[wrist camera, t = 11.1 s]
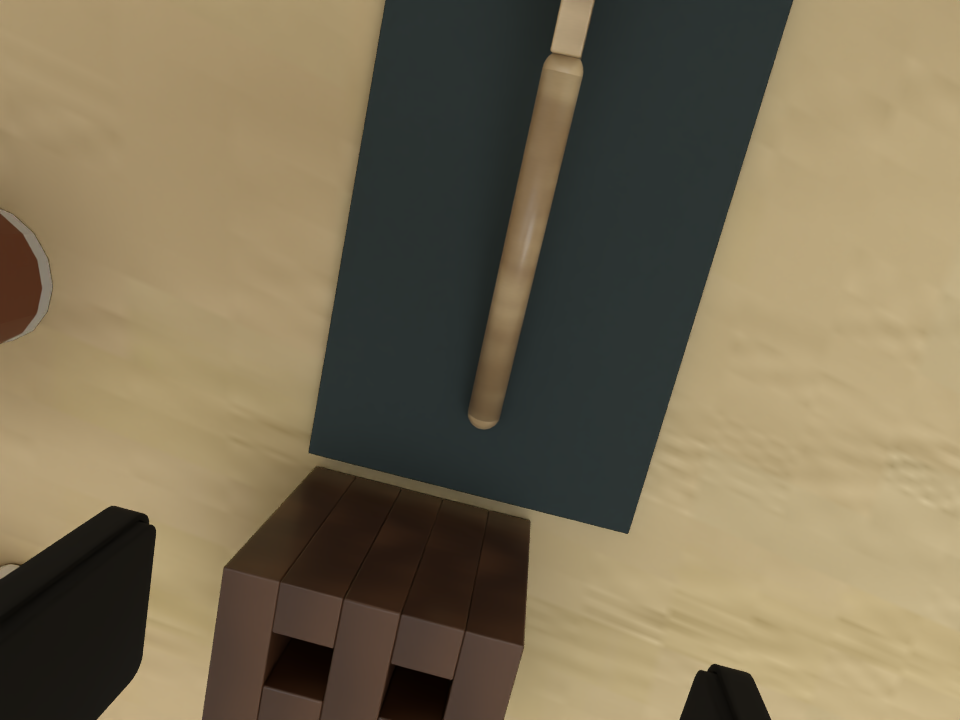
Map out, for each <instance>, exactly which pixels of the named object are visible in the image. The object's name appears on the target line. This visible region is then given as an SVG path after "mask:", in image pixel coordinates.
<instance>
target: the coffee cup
mask: <svg viewBox="0 0 960 720" xmlns="http://www.w3.org/2000/svg"><path fill="white" fill-rule="evenodd" d="M52 288H53V286H52V280H51V274H50V268H49V262H48V258H47V256H46V255H45V253H44V251H43V249H42V247H41V245H40V244H39V242H38V240H37V238H36V236H35V235H34V233H33V232H32V231H31V230H29V229H28V228H27V227H26V226H25V225H24V224H23V223H22V222H21V221H20V220H18V219H17V218H16V217H15V216H14V215H13V214H11V213H9V212H6V211H4V210H1V209H0V344H1V343H5V342H9V341H13V340H15V339H17V338H19V337H21V336H23V335H25V334H27V333H29V332H31V331H33V330H34V329H35V327H36V326H37V325H38V323H39V322H40V321H41V319H42V318H43V317H44V315H45V314H46V313H47V311H48V306H49V301H50V297H51V292H52Z"/></svg>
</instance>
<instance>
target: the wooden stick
mask: <svg viewBox="0 0 960 720" xmlns="http://www.w3.org/2000/svg"><path fill="white" fill-rule="evenodd" d="M594 4H595V0H561V3H560V8H559V12H558V17H557V21H556V26H555V31H554V35H553V40H552V44H551V49H550V50H551V52H552V54H550V55H549V56H548V58H547V59H546V60H545V62H544V64H543V68H542V72H541V77H540V81H539V86H538V91H537V95H536V100H535V104H534V109H533V114H532V118H531V123H530V127H529V132H528V137H527V141H526V146H525V150H524V155H523V160H522V164H521V169H520V173H519V178H518V183H517V187H516V192H515V196H514V201H513V206H512V210H511V215H510V219H509V224H508V229H507V233H506V238H505V242H504V247H503V252H502V256H501V261H500V265H499V270H498V275H497V279H496V284H495V288H494V293H493V298H492V302H491V307H490V311H489V316H488V321H487V325H486V330H485V334H484V339H483V344H482V348H481V353H480V357H479V362H478V367H477V371H476V376H475V380H474V385H473V390H472V394H471V399H470V403H469V408H468V418H469V420H470V422H471V424H472V425H473V426H475V427H476V428H478V429H483V430H485V429H490V428H492V427H494V426H495V425H496V424H497V422H498V421H499V418H500V415H501V411H502V407H503V403H504V398H505V394H506V390H507V386H508V382H509V378H510V374H511V370H512V365H513V361H514V357H515V353H516V349H517V345H518V341H519V337H520V333H521V328H522V324H523V320H524V316H525V312H526V308H527V304H528V300H529V295H530V291H531V287H532V283H533V279H534V275H535V271H536V267H537V263H538V258H539V254H540V250H541V246H542V242H543V238H544V234H545V230H546V226H547V221H548V217H549V213H550V209H551V205H552V201H553V197H554V193H555V188H556V184H557V180H558V176H559V172H560V168H561V164H562V160H563V156H564V151H565V147H566V143H567V139H568V135H569V131H570V127H571V123H572V118H573V114H574V110H575V106H576V102H577V98H578V94H579V90H580V86H581V81H582V77H583V65H582V62H581V58H582V54H583V50H584V46H585V41H586V37H587V33H588V29H589V25H590V20H591V16H592V12H593V8H594Z"/></svg>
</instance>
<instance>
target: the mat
mask: <svg viewBox="0 0 960 720" xmlns="http://www.w3.org/2000/svg"><path fill="white" fill-rule="evenodd" d="M792 2H793V0H595V4H594V8H593V12H592V16H591V20H590V25H589V29H588V33H587V37H586V41H585V46H584V50H583V54H582V58H581V62H582V65H583V77H582V81H581V86H580V90H579V94H578V98H577V102H576V106H575V110H574V114H573V118H572V123H571V127H570V131H569V135H568V139H567V143H566V147H565V151H564V156H563V160H562V164H561V168H560V172H559V176H558V180H557V184H556V188H555V193H554V197H553V201H552V205H551V209H550V213H549V217H548V221H547V226H546V230H545V234H544V238H543V242H542V246H541V250H540V254H539V258H538V263H537V267H536V271H535V275H534V279H533V283H532V287H531V291H530V295H529V300H528V304H527V308H526V312H525V316H524V320H523V324H522V328H521V333H520V337H519V341H518V345H517V349H516V353H515V357H514V361H513V365H512V370H511V374H510V378H509V382H508V386H507V390H506V394H505V398H504V403H503V407H502V411H501V415H500V418H499V421H498V422H497V424H496V425H495V426H494V427H492V428H490V429H485V430H483V429H478V428H476V427H475V426H473V425H472V424H471V422H470V420H469V418H468V408H469V403H470V399H471V394H472V390H473V385H474V380H475V376H476V371H477V367H478V362H479V357H480V353H481V348H482V344H483V339H484V334H485V330H486V325H487V321H488V316H489V311H490V307H491V302H492V298H493V293H494V288H495V284H496V279H497V275H498V270H499V265H500V261H501V256H502V252H503V247H504V242H505V238H506V233H507V229H508V224H509V219H510V215H511V210H512V206H513V201H514V196H515V192H516V187H517V183H518V178H519V173H520V169H521V164H522V160H523V155H524V150H525V146H526V141H527V137H528V132H529V127H530V123H531V118H532V114H533V109H534V104H535V100H536V95H537V91H538V86H539V81H540V77H541V72H542V68H543V64H544V62H545V60H546V59H547V58H548V56H549V55H550V54H552V52H551V50H550V49H551V44H552V40H553V35H554V31H555V26H556V21H557V17H558V12H559V8H560V3H561V0H386V1H385V7H384V13H383V19H382V25H381V30H380V36H379V42H378V48H377V54H376V60H375V66H374V72H373V77H372V83H371V89H370V95H369V101H368V107H367V113H366V118H365V124H364V130H363V136H362V142H361V148H360V154H359V159H358V165H357V171H356V177H355V183H354V189H353V195H352V200H351V206H350V212H349V218H348V224H347V230H346V236H345V242H344V247H343V253H342V259H341V265H340V271H339V277H338V283H337V288H336V294H335V300H334V306H333V312H332V318H331V324H330V329H329V335H328V341H327V347H326V353H325V359H324V365H323V370H322V376H321V382H320V388H319V394H318V400H317V406H316V412H315V417H314V423H313V429H312V435H311V441H310V447H309V453H311V454H315V455H319V456H323V457H326V458H330V459H334V460H338V461H342V462H346V463H350V464H354V465H358V466H362V467H366V468H370V469H374V470H378V471H382V472H386V473H390V474H394V475H398V476H401V477H405V478H409V479H413V480H417V481H421V482H425V483H429V484H433V485H437V486H441V487H445V488H449V489H453V490H457V491H461V492H465V493H469V494H472V495H476V496H480V497H484V498H488V499H492V500H496V501H500V502H504V503H508V504H512V505H516V506H520V507H524V508H528V509H532V510H536V511H540V512H543V513H547V514H551V515H555V516H559V517H563V518H567V519H571V520H575V521H579V522H583V523H587V524H591V525H595V526H599V527H603V528H607V529H611V530H614V531H618V532H622V533H626V534H628V533H629V530H630V526H631V523H632V520H633V517H634V513H635V510H636V507H637V504H638V500H639V497H640V494H641V491H642V487H643V484H644V481H645V478H646V475H647V471H648V468H649V465H650V462H651V458H652V455H653V452H654V449H655V445H656V442H657V439H658V436H659V432H660V429H661V426H662V423H663V419H664V416H665V413H666V410H667V407H668V403H669V400H670V397H671V394H672V390H673V387H674V384H675V381H676V377H677V374H678V371H679V368H680V364H681V361H682V358H683V355H684V352H685V348H686V345H687V342H688V339H689V335H690V332H691V329H692V326H693V322H694V319H695V316H696V313H697V309H698V306H699V303H700V300H701V297H702V293H703V290H704V287H705V284H706V280H707V277H708V274H709V271H710V267H711V264H712V261H713V258H714V254H715V251H716V248H717V245H718V242H719V238H720V235H721V232H722V229H723V225H724V222H725V219H726V216H727V212H728V209H729V206H730V203H731V199H732V196H733V193H734V190H735V187H736V183H737V180H738V177H739V174H740V170H741V167H742V164H743V161H744V157H745V154H746V151H747V148H748V144H749V141H750V138H751V135H752V131H753V128H754V125H755V122H756V119H757V115H758V112H759V109H760V106H761V102H762V99H763V96H764V93H765V89H766V86H767V83H768V80H769V76H770V73H771V70H772V67H773V64H774V60H775V57H776V54H777V51H778V47H779V44H780V41H781V38H782V34H783V31H784V28H785V25H786V21H787V18H788V15H789V12H790V9H791V5H792Z"/></svg>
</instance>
